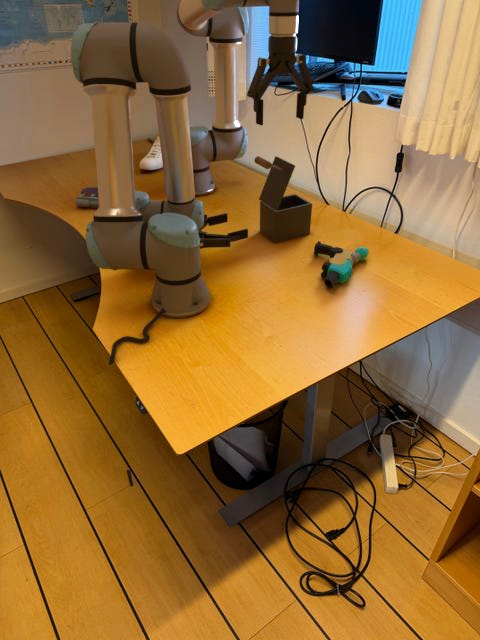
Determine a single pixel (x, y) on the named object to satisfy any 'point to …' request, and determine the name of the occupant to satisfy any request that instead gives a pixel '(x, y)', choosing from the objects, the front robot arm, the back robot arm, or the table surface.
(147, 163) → the sneaker
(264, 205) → the chest
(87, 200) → the toy gun
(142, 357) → the table surface
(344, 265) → the toy gun
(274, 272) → the table surface
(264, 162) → the lid
